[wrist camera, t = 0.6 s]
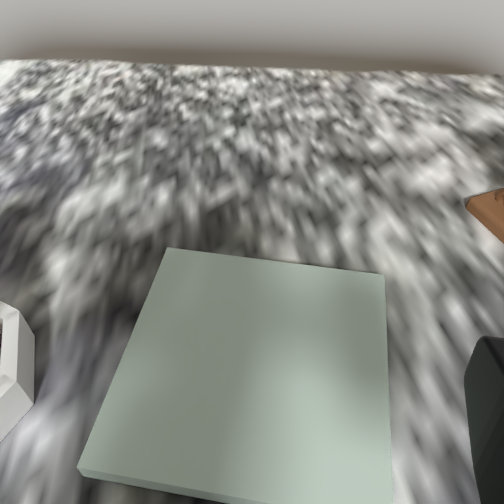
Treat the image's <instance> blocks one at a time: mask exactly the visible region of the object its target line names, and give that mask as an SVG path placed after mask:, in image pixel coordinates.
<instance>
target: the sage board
mask: <svg viewBox="0 0 504 504" xmlns="http://www.w3.org/2000/svg"><path fill="white" fill-rule="evenodd" d="M77 469H78V470H79V471H80V473H81V474H82V475H83V476H84V477H89V478H95V479H100V480H105V481H111V482H116V483H121V484H127V485H132V486H137V487H142V488H148V489H153V490H158V491H164V492H169V493H174V494H180V495H185V496H190V497H196V498H201V499H206V500H211V501H217V502H222V503H227V504H393V481H392V455H391V429H390V403H389V377H388V351H387V325H386V299H385V275H382V274H374V273H366V272H358V271H350V270H342V269H334V268H326V267H318V266H311V265H303V264H295V263H287V262H279V261H271V260H263V259H255V258H247V257H240V256H232V255H224V254H216V253H208V252H200V251H192V250H184V249H176V248H169V247H167V249H166V252H165V254H164V257H163V259H162V261H161V264H160V266H159V269H158V271H157V274H156V276H155V278H154V281H153V283H152V286H151V288H150V291H149V293H148V295H147V298H146V300H145V303H144V305H143V308H142V310H141V312H140V315H139V317H138V320H137V322H136V324H135V327H134V329H133V332H132V334H131V337H130V339H129V341H128V344H127V346H126V349H125V351H124V354H123V356H122V358H121V361H120V363H119V366H118V368H117V371H116V373H115V375H114V378H113V380H112V383H111V385H110V387H109V390H108V392H107V395H106V397H105V400H104V402H103V404H102V407H101V409H100V412H99V414H98V417H97V419H96V421H95V424H94V426H93V429H92V431H91V434H90V436H89V438H88V441H87V443H86V446H85V448H84V450H83V453H82V455H81V458H80V460H79V463H78V465H77Z"/></svg>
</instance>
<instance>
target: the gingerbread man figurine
mask: <svg viewBox="0 0 504 504" xmlns="http://www.w3.org/2000/svg"><path fill="white" fill-rule="evenodd" d="M466 209H467V210H468V211H469V212H470V213H471V214H472V215H473V216H474V217H475V218H477V219H478V220H479V221H480V222H481V223H482V224H483V225H484V226H485V227H486V228H487V229H488V230H490V231H491V232H492V233H493V234H494V235H495V236H496V237H497V238H498V239H499V240H500V241H501V242H503V243H504V188H502V189H498V190H495V191H491V192H488V193H484V194H481V195H477V196H474V197H471V198H470V199H469V200H468V203H467V205H466Z"/></svg>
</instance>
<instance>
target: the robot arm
mask: <svg viewBox="0 0 504 504" xmlns="http://www.w3.org/2000/svg"><path fill="white" fill-rule="evenodd" d="M464 390H465V399H466V408H467V417H468V427H469V436H470V445H471V454H472V462H473V469H474V474H475V479H476V484H477V489H478V493H479V498H480V502H481V504H504V338H498V337H492V336H482V337H480V339H479V340H478V341H477V343H476V346H475V348H474V351H473V353H472V356H471V358H470V361H469V363H468V366H467V368H466V371H465V375H464Z"/></svg>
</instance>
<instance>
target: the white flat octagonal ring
mask: <svg viewBox="0 0 504 504" xmlns="http://www.w3.org/2000/svg"><path fill="white" fill-rule="evenodd" d="M0 334H2V344H1V358H0V442H1V441H2V440H3V439H4V438H5V436H6V435H7V434H8V433H9V432H10V431H11V430H12V429H13V427H14V426H15V425H16V424H17V423H18V422H19V421H20V420H21V418H22V417H23V416H24V415H25V414H26V413H27V412H28V411H29V410H30V408H31V407H32V406H33V405H34V357H35V336H34V334H33V332H32V331H31V329H30V327H29V326H28V324H27V322H26V321H25V319H24V317H23V316H22V314H21V313H20V311H19V310H17V309H15V308H13V307H11V306H9V305H8V304H6V303H4V302H2V301H0Z"/></svg>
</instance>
